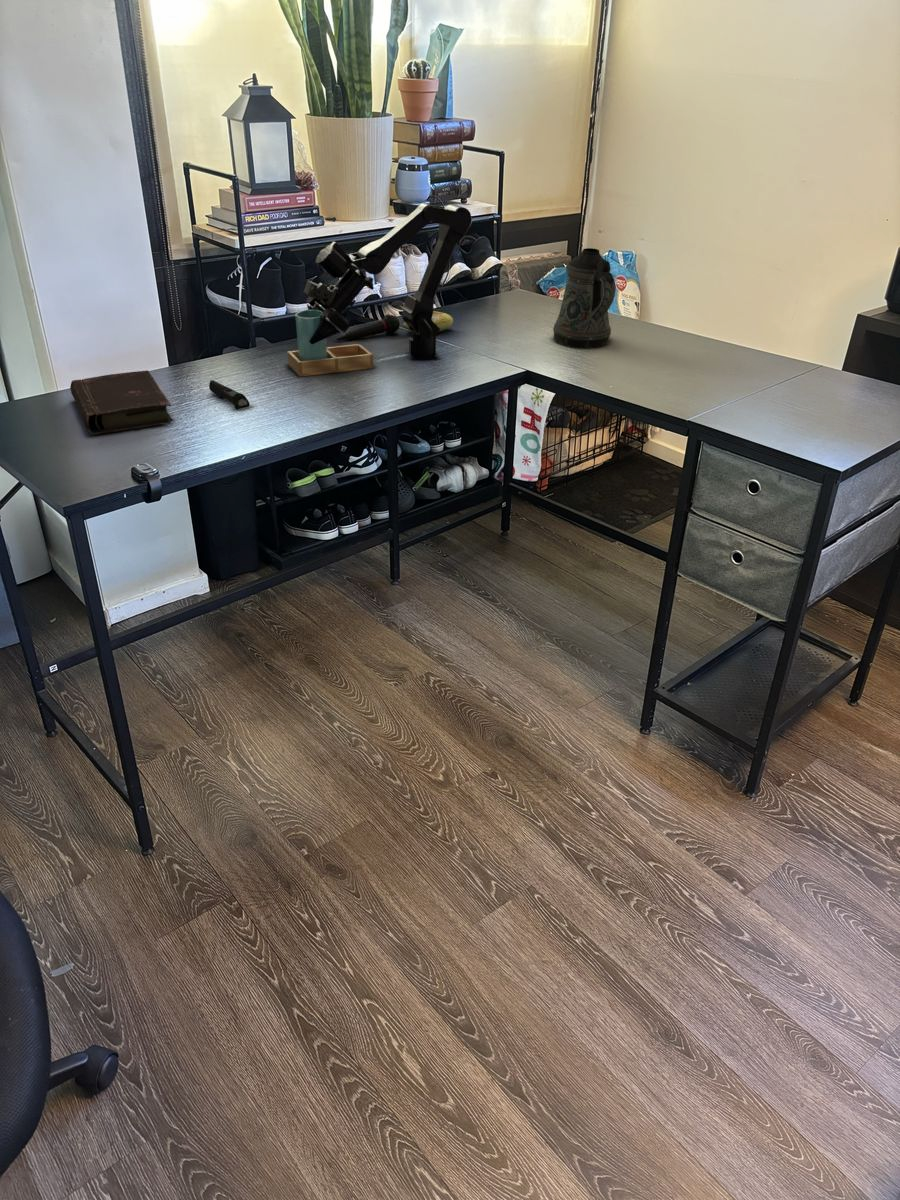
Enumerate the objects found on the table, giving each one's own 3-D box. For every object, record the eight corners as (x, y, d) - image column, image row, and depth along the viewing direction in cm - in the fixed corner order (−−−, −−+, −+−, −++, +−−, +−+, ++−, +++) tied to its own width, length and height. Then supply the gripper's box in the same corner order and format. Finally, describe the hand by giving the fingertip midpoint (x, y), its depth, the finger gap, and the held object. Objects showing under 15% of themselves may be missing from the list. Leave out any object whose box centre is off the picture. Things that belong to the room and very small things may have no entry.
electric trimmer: (220, 390, 214) (219, 377, 212) (251, 407, 204) (249, 393, 202) (206, 393, 212) (204, 380, 210) (236, 410, 202) (234, 397, 200)
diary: (88, 436, 187) (83, 413, 184) (72, 400, 205) (68, 379, 203) (177, 423, 194) (174, 401, 191) (154, 390, 213) (151, 369, 210)
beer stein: (570, 329, 266) (577, 241, 253) (628, 341, 257) (639, 250, 244) (541, 341, 255) (548, 249, 242) (602, 354, 245) (612, 259, 232)
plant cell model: (461, 324, 260) (420, 310, 251) (449, 347, 263) (408, 335, 254) (445, 307, 267) (404, 293, 257) (434, 331, 270) (393, 318, 261)
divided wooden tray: (360, 357, 239) (359, 343, 237) (373, 368, 231) (373, 354, 229) (288, 365, 232) (287, 351, 230) (299, 376, 224) (298, 362, 222)
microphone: (341, 353, 252) (402, 335, 260) (341, 335, 248) (403, 318, 255) (333, 343, 255) (393, 325, 262) (332, 325, 250) (394, 308, 258)
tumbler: (332, 361, 231) (328, 311, 224) (321, 370, 226) (317, 319, 218) (306, 358, 233) (302, 308, 226) (295, 367, 227) (290, 316, 220)
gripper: (311, 261, 225) (272, 309, 227) (334, 276, 211) (292, 327, 213) (342, 291, 232) (304, 337, 234) (366, 307, 218) (326, 356, 220)
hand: (306, 339), depth 225 cm, fingers closed on tumbler, 7 cm apart
